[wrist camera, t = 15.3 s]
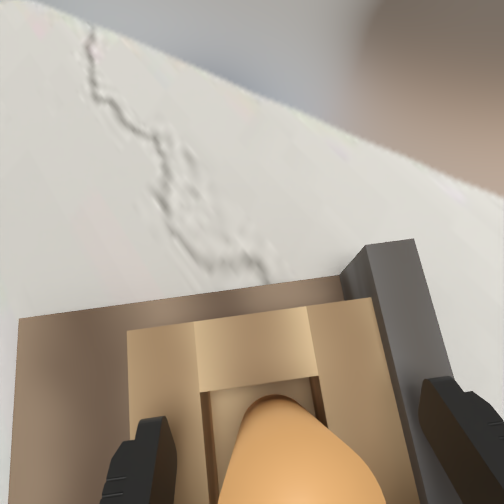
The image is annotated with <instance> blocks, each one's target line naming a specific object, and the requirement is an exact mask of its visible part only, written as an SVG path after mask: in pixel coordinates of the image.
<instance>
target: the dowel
mask: <svg viewBox="0 0 504 504" xmlns="http://www.w3.org/2000/svg"><path fill="white" fill-rule="evenodd" d="M218 504H386V501H385V498H384V496H383V493H382V490H381V488H380V486H379V484H378V482H377V480H376V478H375V476H374V475H373V473H372V472H371V470H370V469H369V467H368V466H367V465H366V463H365V462H364V461H363V460H362V459H361V457H360V456H359V455H357V454H356V453H355V452H354V451H353V450H352V449H351V448H350V447H349V446H348V445H346V444H345V443H344V442H343V441H342V440H341V439H339V438H338V437H337V436H336V435H335V434H334V433H332V432H331V431H330V430H329V429H328V428H327V427H325V426H324V425H323V424H322V423H321V422H320V421H318V420H317V419H316V418H315V417H314V416H313V415H312V414H310V413H309V412H308V411H307V410H306V409H305V408H303V407H302V406H301V405H300V404H299V403H298V402H296V401H295V400H293V399H292V398H290V397H287V396H284V395H279V394H271V395H266V396H263V397H261V398H259V399H257V400H256V401H255V402H253V403H252V404H251V405H250V407H249V408H248V409H247V411H246V412H245V414H244V416H243V419H242V422H241V425H240V428H239V432H238V435H237V439H236V442H235V445H234V449H233V452H232V455H231V459H230V462H229V465H228V469H227V472H226V476H225V479H224V482H223V486H222V489H221V492H220V496H219V500H218Z"/></svg>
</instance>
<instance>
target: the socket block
mask: <svg viewBox="0 0 504 504" xmlns="http://www.w3.org/2000/svg"><path fill="white" fill-rule="evenodd" d="M127 355H128V388H129V421H130V440H135V435H136V431H137V426H138V423H139V421H140V420H141V419H145V418H152V417H159V416H166V418H167V420H168V423H169V427H170V430H171V433H172V436H173V439H174V443H175V446H176V451H177V474H176V484H175V494H174V504H218V500H219V496H220V492H221V489H222V486H223V482H224V479H225V476H226V472H227V469H228V465H229V462H230V459H231V455H232V452H233V449H234V445H235V442H236V439H237V435H238V432H239V428H240V425H241V422H242V419H243V416H244V414H245V412H246V411H247V409H248V408H249V407H250V405H251V404H252V403H253V402H255V401H256V400H257V399H259V398H261V397H263V396H266V395H271V394H279V395H284V396H287V397H290V398H292V399H293V400H295V401H296V402H298V403H299V404H300V405H301V406H302V407H303V408H305V409H306V410H307V411H308V412H309V413H310V414H312V415H313V416H314V417H315V418H316V419H317V420H318V421H320V422H321V423H322V424H323V425H324V426H325V427H327V428H328V429H329V430H330V431H331V432H332V433H334V434H335V435H336V436H337V437H338V438H339V439H341V440H342V441H343V442H344V443H345V444H346V445H348V446H349V447H350V448H351V449H352V450H353V451H354V452H355V453H356V454H357V455H359V456H360V457H361V459H362V460H363V461H364V462H365V463H366V465H367V466H368V467H369V469H370V470H371V472H372V473H373V475H374V476H375V478H376V480H377V482H378V484H379V486H380V488H381V490H382V493H383V496H384V498H385V501H386V504H420V501H419V497H418V492H417V488H416V484H415V480H414V475H413V471H412V467H411V463H410V459H409V454H408V450H407V446H406V442H405V438H404V433H403V429H402V425H401V421H400V417H399V412H398V408H397V404H396V400H395V395H394V391H393V387H392V383H391V379H390V374H389V370H388V366H387V362H386V358H385V353H384V349H383V345H382V341H381V337H380V332H379V328H378V324H377V320H376V315H375V311H374V307H373V303H372V299H371V297H369V298H362V299H354V300H347V301H340V302H333V303H325V304H318V305H311V306H304V307H296V308H289V309H282V310H275V311H267V312H260V313H253V314H246V315H239V316H231V317H224V318H217V319H210V320H202V321H195V322H188V323H181V324H173V325H166V326H159V327H152V328H144V329H137V330H130V331H127Z"/></svg>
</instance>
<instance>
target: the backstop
mask: <svg viewBox="0 0 504 504" xmlns="http://www.w3.org/2000/svg"><path fill="white" fill-rule="evenodd" d="M369 297H371V299H372V303H373V307H374V311H375V315H376V320H377V324H378V328H379V332H380V337H381V341H382V345H383V349H384V353H385V358H386V362H387V366H388V370H389V374H390V379H391V383H392V387H393V391H394V395H395V400H396V404H397V408H398V412H399V417H400V421H401V425H402V429H403V433H404V438H405V442H406V446H407V450H408V454H409V459H410V463H411V467H412V471H413V475H414V480H415V484H416V488H417V492H418V497H419V501H420V504H463V503H462V501H461V499H460V497H459V495H458V494H457V492H456V490H455V488H454V487H453V485H452V483H451V481H450V479H449V478H448V476H447V474H446V472H445V471H444V469H443V467H442V465H441V463H440V462H439V460H438V458H437V456H436V454H435V453H434V451H433V449H432V447H431V446H430V444H429V442H428V440H427V438H426V437H425V435H424V433H423V431H422V429H421V426H420V423H419V418H418V408H419V401H420V394H421V388H422V382H423V380H424V379H428V378H435V377H442V376H451V377H452V378H453V379H454V376H453V373H452V370H451V366H450V363H449V359H448V356H447V352H446V349H445V345H444V342H443V338H442V335H441V331H440V328H439V324H438V321H437V317H436V314H435V310H434V307H433V303H432V300H431V297H430V293H429V290H428V286H427V283H426V279H425V276H424V272H423V269H422V265H421V262H420V258H419V255H418V251H417V248H416V244H415V241H414V239H407V240H400V241H392V242H385V243H377V244H370V245H365V246H364V247H363V248H362V250H361V251H360V252H359V253H358V254H357V255H356V257H355V258H354V259H353V260H352V261H351V262H350V263H349V265H348V266H347V267H346V268H345V269H344V270H343V271H342V273H341V274H340V275H337V276H329V277H322V278H314V279H307V280H300V281H292V282H285V283H278V284H270V285H263V286H256V287H248V288H241V289H234V290H226V291H219V292H212V293H204V294H197V295H190V296H182V297H175V298H168V299H160V300H153V301H146V302H138V303H131V304H123V305H116V306H109V307H101V308H94V309H87V310H79V311H72V312H65V313H57V314H50V315H43V316H35V317H28V318H21V319H19V326H18V343H17V360H16V377H15V394H14V411H13V428H12V445H11V462H10V479H9V496H8V504H99V503H100V499H102V492H103V488H104V484H105V482H106V477H107V473H108V469H109V465H110V462H111V459H112V457H113V456H114V454H115V452H116V451H117V449H118V448H119V446H120V445H121V443H122V442H123V441H128V440H130V421H129V388H128V355H127V331H130V330H137V329H144V328H152V327H159V326H166V325H173V324H181V323H188V322H195V321H202V320H210V319H217V318H224V317H231V316H239V315H246V314H253V313H260V312H267V311H275V310H282V309H289V308H296V307H304V306H311V305H318V304H325V303H333V302H340V301H347V300H354V299H362V298H369Z"/></svg>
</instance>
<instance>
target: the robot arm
mask: <svg viewBox="0 0 504 504" xmlns="http://www.w3.org/2000/svg"><path fill="white" fill-rule="evenodd" d="M418 418H419V423H420V426H421V429H422V431H423V433H424V435H425V437H426V438H427V440H428V442H429V444H430V446H431V447H432V449H433V451H434V453H435V454H436V456H437V458H438V460H439V462H440V463H441V465H442V467H443V469H444V471H445V472H446V474H447V476H448V478H449V479H450V481H451V483H452V485H453V487H454V488H455V490H456V492H457V494H458V495H459V497H460V499H461V501H462V503H463V504H504V422H503V419H502V418H501V417H500V416H499V414H498V413H497V412H496V411H495V410H494V408H493V407H492V406H491V405H490V404H489V403H488V402H486V401H485V400H484V399H482V398H481V397H480V396H478V395H477V394H475V393H474V392H473V391H470V392H463V390H462V389H461V388H460V386H459V385H458V384H457V382H456V381H455V380H454V379H453V378H452V377H451V376H442V377H435V378H428V379H424V380H423V382H422V388H421V394H420V401H419V408H418ZM176 474H177V451H176V446H175V443H174V439H173V436H172V433H171V430H170V427H169V423H168V420H167V418H166V416H159V417H152V418H145V419H141V420H140V421H139V423H138V426H137V431H136V435H135V440H128V441H123V442H122V443H121V445H120V446H119V448H118V449H117V451H116V452H115V454H114V456H113V457H112V459H111V462H110V465H109V469H108V473H107V477H106V482H105V484H104V488H103V492H102V499H100V503H99V504H174V494H175V484H176Z"/></svg>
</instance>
